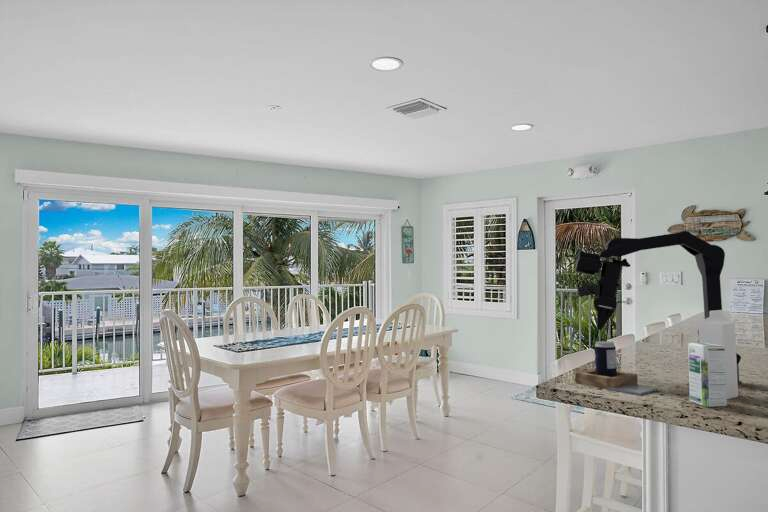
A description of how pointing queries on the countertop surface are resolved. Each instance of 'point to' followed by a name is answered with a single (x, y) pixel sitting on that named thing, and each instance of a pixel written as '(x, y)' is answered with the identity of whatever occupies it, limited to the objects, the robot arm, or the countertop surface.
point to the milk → (722, 334)
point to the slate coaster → (633, 389)
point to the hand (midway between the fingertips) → (599, 328)
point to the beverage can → (605, 358)
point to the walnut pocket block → (605, 379)
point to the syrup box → (707, 374)
